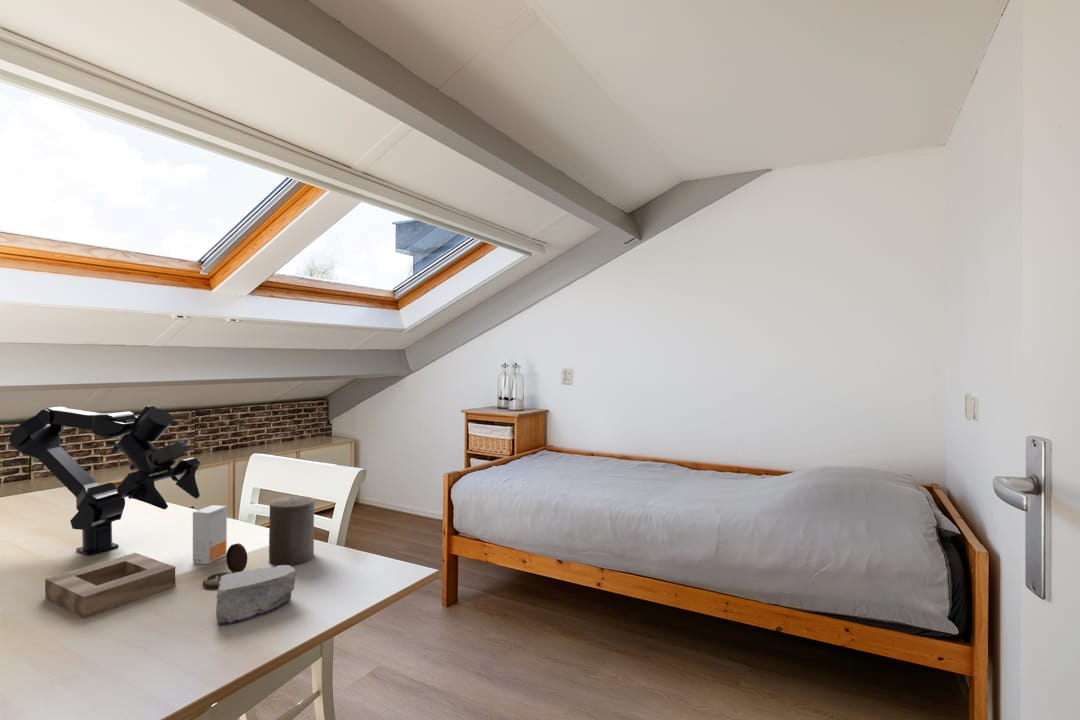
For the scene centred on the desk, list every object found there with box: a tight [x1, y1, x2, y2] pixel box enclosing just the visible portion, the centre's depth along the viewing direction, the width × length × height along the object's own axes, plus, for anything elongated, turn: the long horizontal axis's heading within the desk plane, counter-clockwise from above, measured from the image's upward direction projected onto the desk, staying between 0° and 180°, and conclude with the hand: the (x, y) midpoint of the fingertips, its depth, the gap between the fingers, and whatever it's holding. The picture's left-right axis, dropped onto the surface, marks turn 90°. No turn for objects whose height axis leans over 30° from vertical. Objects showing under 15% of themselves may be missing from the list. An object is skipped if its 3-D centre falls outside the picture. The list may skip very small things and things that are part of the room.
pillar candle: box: [268, 495, 315, 567], centre depth 133 cm, size 10×10×15 cm
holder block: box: [44, 552, 176, 619], centre depth 114 cm, size 16×16×4 cm
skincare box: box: [192, 504, 228, 565], centre depth 132 cm, size 6×4×12 cm
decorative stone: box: [215, 565, 297, 626], centre depth 108 cm, size 15×7×10 cm
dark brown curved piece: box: [202, 542, 248, 590], centre depth 119 cm, size 8×8×7 cm
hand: (182, 502), depth 133 cm, fingers open, 9 cm apart
